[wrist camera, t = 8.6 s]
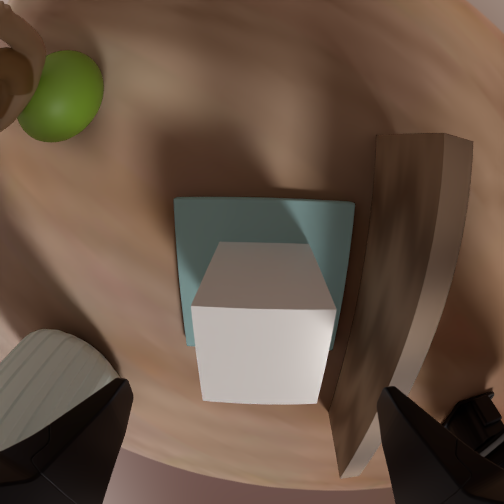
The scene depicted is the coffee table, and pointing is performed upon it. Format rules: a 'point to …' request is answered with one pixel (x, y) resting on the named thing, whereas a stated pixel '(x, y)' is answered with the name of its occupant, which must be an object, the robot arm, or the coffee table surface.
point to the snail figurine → (44, 84)
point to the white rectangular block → (262, 324)
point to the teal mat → (261, 237)
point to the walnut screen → (400, 280)
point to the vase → (47, 381)
